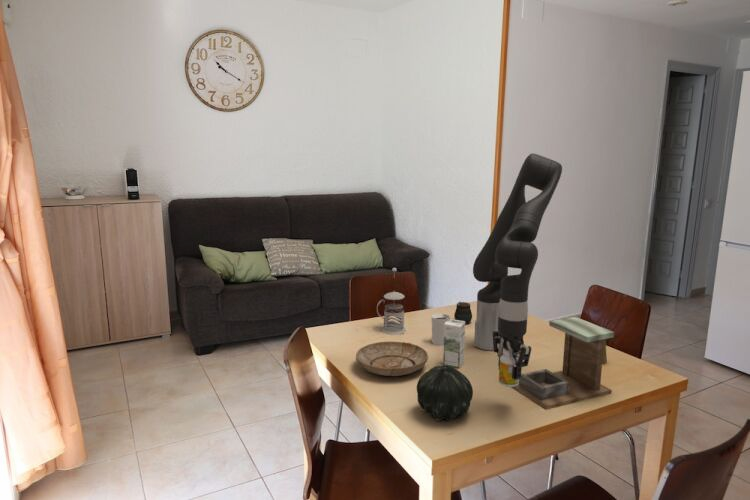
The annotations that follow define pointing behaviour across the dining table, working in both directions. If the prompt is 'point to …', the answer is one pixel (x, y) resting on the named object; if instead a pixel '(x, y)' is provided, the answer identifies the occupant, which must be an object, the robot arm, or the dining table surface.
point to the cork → (604, 353)
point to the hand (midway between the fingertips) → (509, 374)
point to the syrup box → (454, 343)
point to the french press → (393, 313)
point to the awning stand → (570, 367)
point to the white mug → (438, 328)
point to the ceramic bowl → (391, 358)
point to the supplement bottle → (507, 370)
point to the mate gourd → (463, 312)
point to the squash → (444, 392)
